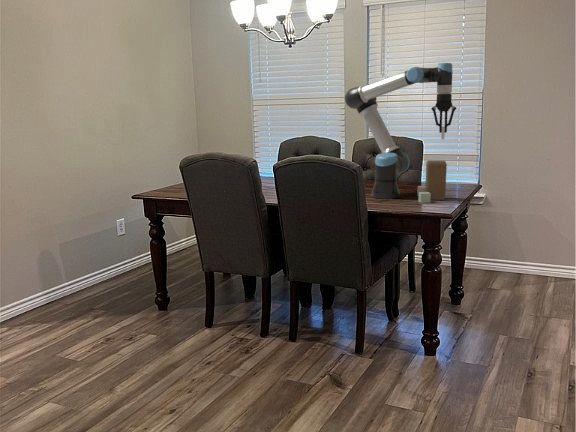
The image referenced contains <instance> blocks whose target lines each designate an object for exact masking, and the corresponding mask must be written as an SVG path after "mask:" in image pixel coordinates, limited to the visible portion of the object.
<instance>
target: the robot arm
mask: <svg viewBox="0 0 576 432" xmlns="http://www.w3.org/2000/svg"><path fill="white" fill-rule="evenodd" d="M453 73H454V72H453V64H452V63H451V62H441V63H440V62H439V63H437V66H436V67H419V66H412V67H410V68H409V69H407V70H405V71H402V72H400V73H397V74H394V75H391V76H389V77H386V78H383V79H381V80H378V81H376V82H375V81H374V82H372V83H370V84H367V85H362V84H361V85H359V86H355V87H351V88H350V89H348V90H347V91H346V93H345V96H344V102H345V104H346V106H347V107H348V108H350V109H354V110H356V111H357V113H358V115H359V116H361V117H363V118H364V121H365V123H366V124H367V127H368V129H369V130H370V132H371V134H372V137H373V138H374V140H375V143H377V146H378V148H379V149H380V151H381V153H378V154H377V155H376V156H375V160H374V165H375V166H374V167H375V168H374V171H375V172H374V173H375V174H374V184H373V188H372V190H371V197H372V198H375V199H382V200H385V199H387V200H390V199H398V198H400V197H401V196H400V193H401V192H400V189H399V187H398V183H397V182H398V181H397V178H398V175H401V174H403V173H406V172H407V170H409V167H410V164H411V163H410V158H409V156H408V154H406V153H404V152H403V151H402V148H401V147H400V146H397V145H396V143H395V141H394V139H393V137H392V136H391V133H390V131H389V130H388V128H387V126H386V125H385V122H384V120H383V118H382V117H381V115H380V112H379V111H378V106H379V105H378V102H377V97H381V96H382V95H386V94H389V93H392V92H395V91H397V90H399V89H403V88H406V87H408V86H412V85H414V84H417V83H418V84H424V83H425V84H427V83H428V84H430V83H436V93H437V94H436V103H435V105H434V106H433V107H431V108H430V109H431V110H432V112H433V116H434V121H435V125H436V127H438V128H439V129H438V130H439V133H441V140H445V134H446V133H447V131H448V127H450V126H451V123H452V121H453V118H454V115H455V111H456V110H457V106H454V105H453V101H452V97H453V96H452V92H453ZM450 109H451V113H450V115H449V116H450V117H449V120H448V112H449V111H450ZM436 110H438V112H439V120H438V115H437V111H436ZM443 112H444V126H443Z"/></svg>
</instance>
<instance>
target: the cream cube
mask: <svg viewBox="0 0 576 432" xmlns="http://www.w3.org/2000/svg"><path fill="white" fill-rule="evenodd" d="M416 191H417V193H416V194H417V195H416V196H417V197H419V192H425V185H417V190H416Z"/></svg>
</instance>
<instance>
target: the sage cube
mask: <svg viewBox="0 0 576 432" xmlns="http://www.w3.org/2000/svg"><path fill="white" fill-rule="evenodd" d="M430 199H431V193H429V192H419V196H418V202H419V203H420V204H431V200H430Z"/></svg>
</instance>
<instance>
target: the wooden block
mask: <svg viewBox="0 0 576 432" xmlns="http://www.w3.org/2000/svg"><path fill="white" fill-rule="evenodd" d="M425 164H426V165H425V185H424V186H425V192H429V193H431V199H430V201H445V200H446V186H447V165H448V164H447V162H446V161H445V160H426V163H425Z"/></svg>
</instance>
